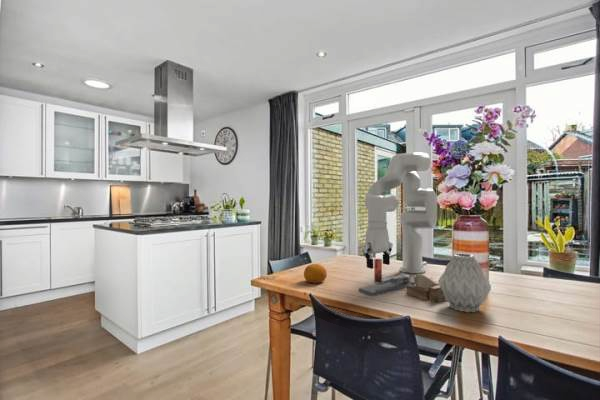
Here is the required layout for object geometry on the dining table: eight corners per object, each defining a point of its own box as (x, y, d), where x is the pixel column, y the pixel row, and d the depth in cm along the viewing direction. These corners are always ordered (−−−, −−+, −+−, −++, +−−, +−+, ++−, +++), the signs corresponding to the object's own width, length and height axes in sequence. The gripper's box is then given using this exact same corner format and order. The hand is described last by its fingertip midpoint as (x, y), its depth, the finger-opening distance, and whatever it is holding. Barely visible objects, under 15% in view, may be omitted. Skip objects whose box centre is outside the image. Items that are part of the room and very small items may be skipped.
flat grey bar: (400, 280, 145) (400, 275, 145) (415, 284, 138) (415, 279, 138) (358, 291, 130) (358, 285, 130) (373, 295, 124) (373, 289, 124)
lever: (403, 277, 143) (403, 253, 143) (414, 279, 139) (414, 255, 139) (371, 284, 132) (371, 259, 132) (382, 288, 127) (382, 261, 127)
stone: (436, 294, 128) (445, 278, 123) (434, 306, 123) (443, 290, 118) (411, 283, 132) (418, 266, 126) (407, 294, 127) (415, 278, 121)
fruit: (327, 285, 140) (327, 267, 140) (303, 285, 140) (303, 267, 140) (326, 278, 151) (325, 262, 151) (304, 279, 151) (303, 262, 151)
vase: (428, 303, 114) (428, 252, 114) (465, 298, 119) (465, 249, 119) (463, 320, 99) (462, 261, 99) (504, 314, 103) (503, 257, 103)
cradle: (426, 288, 133) (426, 276, 133) (454, 295, 123) (454, 283, 122) (406, 293, 126) (406, 281, 126) (435, 302, 115) (434, 288, 115)
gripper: (384, 222, 139) (385, 261, 139) (355, 226, 129) (356, 267, 130) (398, 224, 133) (399, 264, 133) (369, 228, 123) (370, 271, 124)
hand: (378, 266), depth 132 cm, fingers open, 9 cm apart
